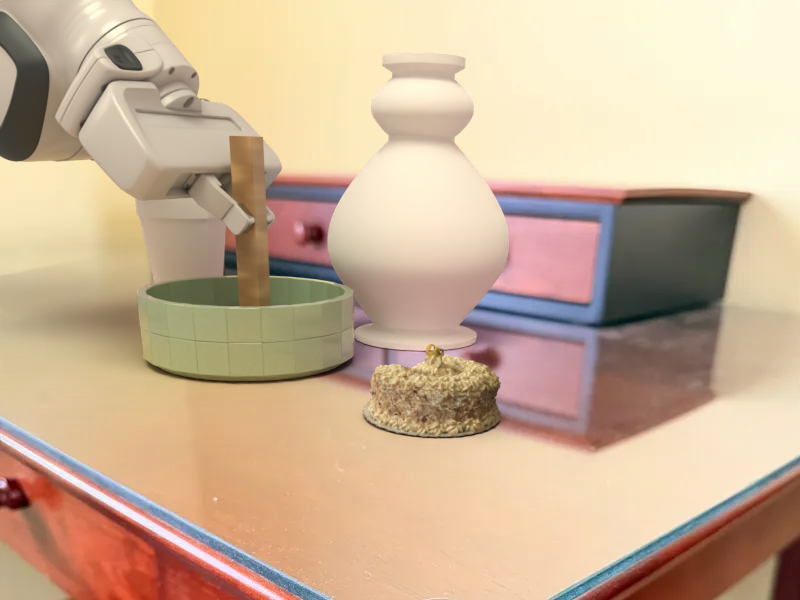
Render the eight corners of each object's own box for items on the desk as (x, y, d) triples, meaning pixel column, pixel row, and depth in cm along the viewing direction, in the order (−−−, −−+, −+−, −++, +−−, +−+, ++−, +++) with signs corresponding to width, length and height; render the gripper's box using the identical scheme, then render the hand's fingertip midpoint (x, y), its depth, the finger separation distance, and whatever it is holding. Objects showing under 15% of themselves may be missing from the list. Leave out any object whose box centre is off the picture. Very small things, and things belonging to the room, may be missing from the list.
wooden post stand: (208, 335, 70) (192, 134, 64) (244, 323, 76) (232, 136, 69) (270, 341, 69) (261, 135, 62) (302, 329, 74) (296, 137, 67)
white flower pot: (191, 307, 97) (181, 188, 92) (251, 316, 93) (244, 192, 88) (129, 319, 90) (114, 190, 84) (191, 329, 86) (180, 194, 80)
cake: (528, 426, 59) (539, 353, 57) (430, 457, 53) (438, 377, 50) (431, 387, 65) (437, 319, 63) (333, 411, 59) (336, 337, 56)
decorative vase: (322, 354, 76) (317, 42, 66) (334, 320, 92) (331, 64, 82) (513, 359, 77) (538, 49, 66) (491, 323, 93) (509, 70, 82)
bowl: (115, 381, 66) (105, 304, 63) (175, 335, 83) (169, 273, 80) (346, 387, 66) (345, 310, 63) (359, 339, 83) (359, 278, 80)
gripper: (194, 128, 77) (291, 244, 79) (38, 118, 60) (165, 267, 61) (232, 74, 74) (332, 195, 75) (79, 47, 57) (213, 205, 58)
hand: (257, 227), depth 68 cm, fingers closed on wooden post stand
